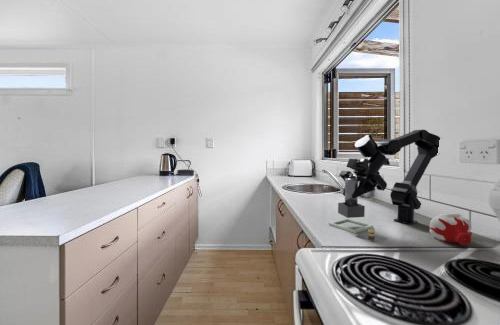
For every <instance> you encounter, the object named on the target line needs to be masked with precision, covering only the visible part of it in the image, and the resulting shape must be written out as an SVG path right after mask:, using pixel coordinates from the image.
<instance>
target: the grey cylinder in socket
mask: <svg viewBox="0 0 500 325" xmlns="http://www.w3.org/2000/svg"><path fill="white" fill-rule="evenodd" d="M358 186H359V182H358V179H354V178H346V179H345V181H344V189H345V196H344V201H343V202H337V213H338V214H340V215H341V216H344V217H345V218H347V219H353V218H365V212H366V209H365V208H366V205H363V204H360V203H358V201H359V200H358V197H356V198H353V197H352V195H353V193H354V192H355V190H356V189H357V187H358Z"/></svg>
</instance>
